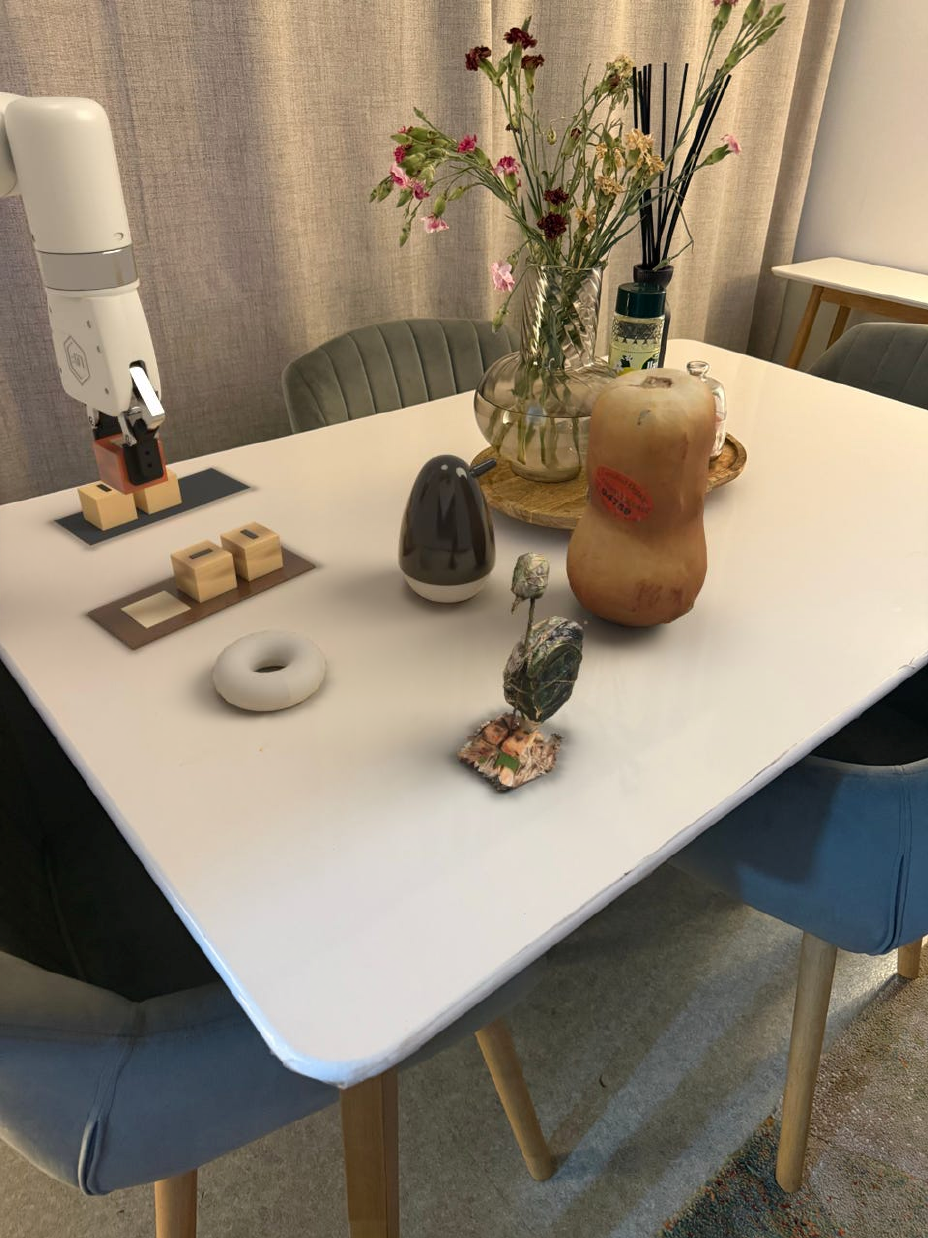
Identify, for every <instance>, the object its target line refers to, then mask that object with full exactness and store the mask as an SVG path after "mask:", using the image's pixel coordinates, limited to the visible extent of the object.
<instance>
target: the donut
mask: <svg viewBox="0 0 928 1238" xmlns="http://www.w3.org/2000/svg"><path fill="white" fill-rule="evenodd" d="M326 664H327V662H326V658H325V655H324V654H323V652H322V650H321V648H320V647H319V645H318V644H316V643H315V642H314V641H313V640H312V639H310V638H309V637H306V636H304V635H302V634H299V633H297V632H293V631H288V630H281V629H280V630H264V631H259V632H253V633H249V634H248V635H245V636H242V637H240V638H237V639H236V640H235V641H233V642H232V643H230V644H229V645H227V646H226V647H224V649H223V650H222V651H221V652H220V653H219V655H218V656H217V658H216V659H215V662H214V666H213V669H212V680H213V682H214V683H213V684H214V686H215V687H214V688H215V689H216V691H217V693H219V695H220V696H221V697H223V699H225V701H226V702H227V703H229V704H231V705H233V706H235V707H238V708H240V709H244V710H248V711H253V712H254V711H255V712H274V711H280V710H284V709H288V708H291V707H293V706H295V705H297V704H299V703H302V702H304V701H306V700H307V699H308V698H309V697H311V695H313V694H314V693H315V692H317V690H319V687H320V685H321V684H322V682H323V681H324V679H325V674H326ZM271 667H281V669H279V670H275V671H270V672H259V670H262V669H266V668H271Z"/></svg>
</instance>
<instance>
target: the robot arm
mask: <svg viewBox="0 0 928 1238" xmlns="http://www.w3.org/2000/svg"><path fill="white" fill-rule="evenodd" d="M123 192H124V191H123V187H122V181H121V176H120V171H119V166H118V160H117V154H116V149H115V144H114V138H113V133H112V129H111V124H110V120H109V117H108V114H107V112H106V110H105V109H104V107H103V106H102V105H101V104H100V103H98V102H97V100H93V99H90V98H87V97H81V96H31V97H30V96H24V95H20V94H16V93H11V92H6V91H0V199H4V198H10V197H14V196H20V195H21V198H22V202H23V206H24V210H25V215H26V219H27V223H28V227H29V230H30V235H31V239H32V243H33V247H34V252H35V255H36V260H37V264H38V269H39V271H40V276H41V277H40V278H41V280H42V285H43V289H44V292H45V293H46V301H47V311H48V318H49V319H48V320H49V325H50V332H51V337H52V342H53V348H54V352H55V358H56V363H57V367H58V372H59V377H60V381H61V386H62V388H63V390H64V392H65V393H66V394H67V395H68V396H69V397H71V398H73V399H74V400H76V401H78V402H81V403H82V404H83V405H84V406H85V408H86V413H87V421H88V424H89V425H90V426H91V428H92V434H93V438H94V441H96V440H100V439H103V438H107V437H110V436H114V435H117V434H121V433H123V435H124V438H125V441H126V443H124V444H122V449H123V453H124V458H125V462H126V467H127V472H128V476H129V481H130V483H131V484H132V485H134V486H138V485H141V484H144V483H147V482H150V481H153V480H156V479H159V478H162V477H163V475H164V471H163V466H162V461H161V456H160V451H159V446H158V440H159V438H160V432H159V428H160V426H161V425H162V423H163V422H164V421H165V420H166V417H167V416H166V412H165V410H164V409H163V406H162V404H161V400H162V386H161V379H160V373H159V367H158V364H157V363H158V362H157V357H156V354H155V353H156V352H155V350H154V346H153V341H152V337H151V333H150V329H149V325H148V321H147V318H146V315H145V311H144V308H143V304H142V301H141V298H140V295H139V292H138V290H137V288H138V287H139V286H140V284H141V283H140V278H139V273H138V268H137V260H136V257H135V251H134V246H133V241H132V235H131V230H130V225H129V219H128V213H127V207H126V204H125V203H126V202H125V197H124V193H123ZM133 400H136V401H137V404H134V405H131V406H130V404H131V401H133ZM137 414H141V415H140V417H139V418H137V419H135V421H134V422H133V424H132V421H131V417H130V416H133V415H137Z"/></svg>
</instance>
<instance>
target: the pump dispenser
mask: <svg viewBox="0 0 928 1238" xmlns="http://www.w3.org/2000/svg"><path fill="white" fill-rule="evenodd" d="M497 466H498V461H497V459H496V458H495V457H494V456H491V457H489V458H487V459H485V460H482V461H480V462H478V463H475V464H473V465H472V466H470V465H469V464H468V462H466V460H464V459H463V458H461V457H460V456H458V455H457V456H456V455H453V454H447V453H446V454H439V455H436V456H434V457H432V458H430V459H428V460H427V461H426V462H425V463H424V465H423V466H422V467H421V469H420V471H419V472H418V474H417V476H416V478H414V482H413V484H412V486H411V489H410V492H409V494H408V497H407V500H406V502H405V506H404V510H403V514H402V518H401V522H400V529H399V535H398V536H399V538H398V546H397V562H398V566H399V568H400V570H401V571H402V573H403V576H404V578H405V580H406V582H407V584H408V585H409V587H410V588H411V589H412V590H413V591H414V592H415V593H416V594H418V595H419V596H421V597H422V598H424V599H426V600H429V601H432V602H435V603H441V604H442V603H443V604H447V603H448V604H452V603H458V602H462V601H465V600H468V599H470V598H472V597H474V596H476V595H477V594H478V593H479V592H480V591H481V590H482V589H483V588H484V587H485V586H486V584H487V583H488V581H489V579H490V576H491V573H492V571H493V570H494V569H495V566H496V562H497V548H496V539H495V538H496V537H495V531H494V524H493V519H492V515H491V512H490V511H491V510H490V507H489V505H488V501H487V498H486V495H485V492H484V491H483V488H482V487H481V484H480V481H479V479H480V478H482V477H483V476H485V475H486V474H487V473H490V472H491V471H492V470H494V469H495V468H497Z"/></svg>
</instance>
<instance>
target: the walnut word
mask: <svg viewBox="0 0 928 1238" xmlns="http://www.w3.org/2000/svg"><path fill="white" fill-rule="evenodd" d="M219 537H220V542H221V546H219V545H217V544H216V543H214V542H212V541H211V540H209V539H206V540H203V541H201V542H198V543H196V544H193V545H191V546H188V547H185V548H183V549H180V550H177V551H175V552H173V553H171V554H170V560H171V565H172V571H173V575H174V576H172V577H170V578H167V579H165V580H162V581H160V582H157V583H154V584H153V585H150V586H147V587H146V588H143V589H140V590H138V591H136V592H133V593H131V594H128V595H126V596H124V597H121V598H119V599H116V600H113V601H111V602H109V603H107V604H104V605H102V606H99V607H96V608H95V609H92V610H89V611H88V612H87V613H88V614H87V615H89V616H90V618H93V620H95V621H96V622H97V623H99V624H100V625H102V626H103V627H104V628H105V629H107V630H108V631H109V632H110V633H112V634H113V635H114V636H115V637H116V638H118V639H119V640H121V641H122V642H123V643H125V644H126V645H127V646H128V647H130V648H131V649H132V650H133V651H134V650H138V649H140V648H142V647H145V646H146V645H149V644H151V643H153V642H155V641H158V640H160V639H162V638H164V637H166V636H169V635H171V634H173V633H176V632H178V631H180V630H182V629H184V628H186V627H188V626H191V625H192V624H195V623H197V622H199V621H201V620H204V619H206V618H209V617H210V616H213V615H215V614H217V613H219V612H222V611H224V610H226V609H228V608H230V607H232V606H236V605H237V604H240V603H241V602H244V601H246V600H248V599H250V598H252V597H255V596H256V595H259V594H261V593H264V592H265V591H268V590H270V589H272V588H274V587H276V586H279V585H281V584H283V583H286V582H288V581H290V580H292V579H294V578H296V577H299V576H301V575H303V574H305V573H308V572H309V571H312V570H314V569H316V568H317V564H314V563H313V562H311V561H309V560H308V559H305V558H303V557H302V556H300V555H298V554H296V553H295V552H293V551H291V550H289V549H287V548H285V547H283V546H282V545H281V537H280V534H279V533H277V532H276V531H274V530H272V529H270V528H268V527H266V526H264V525H262V524H260V523H258V522H256V521H252V522H249V523H246V524H244V525H242V526H240V527H237V528H234V529H232V530H229V531H227V532H224V533H221V534H220V536H219Z"/></svg>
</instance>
